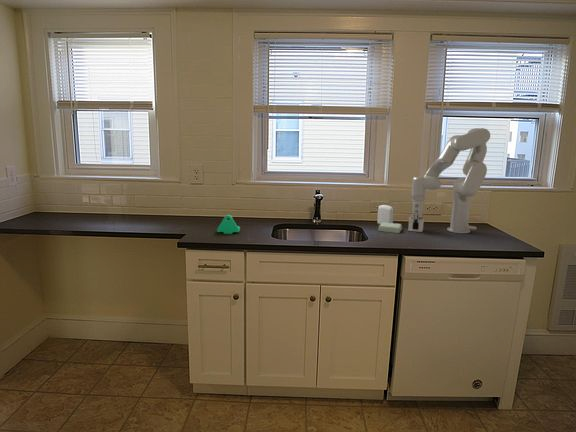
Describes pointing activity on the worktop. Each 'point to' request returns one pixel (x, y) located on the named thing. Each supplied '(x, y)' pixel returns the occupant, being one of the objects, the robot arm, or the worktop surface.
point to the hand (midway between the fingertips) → (415, 227)
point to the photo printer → (385, 214)
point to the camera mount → (228, 226)
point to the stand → (390, 227)
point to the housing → (420, 227)
